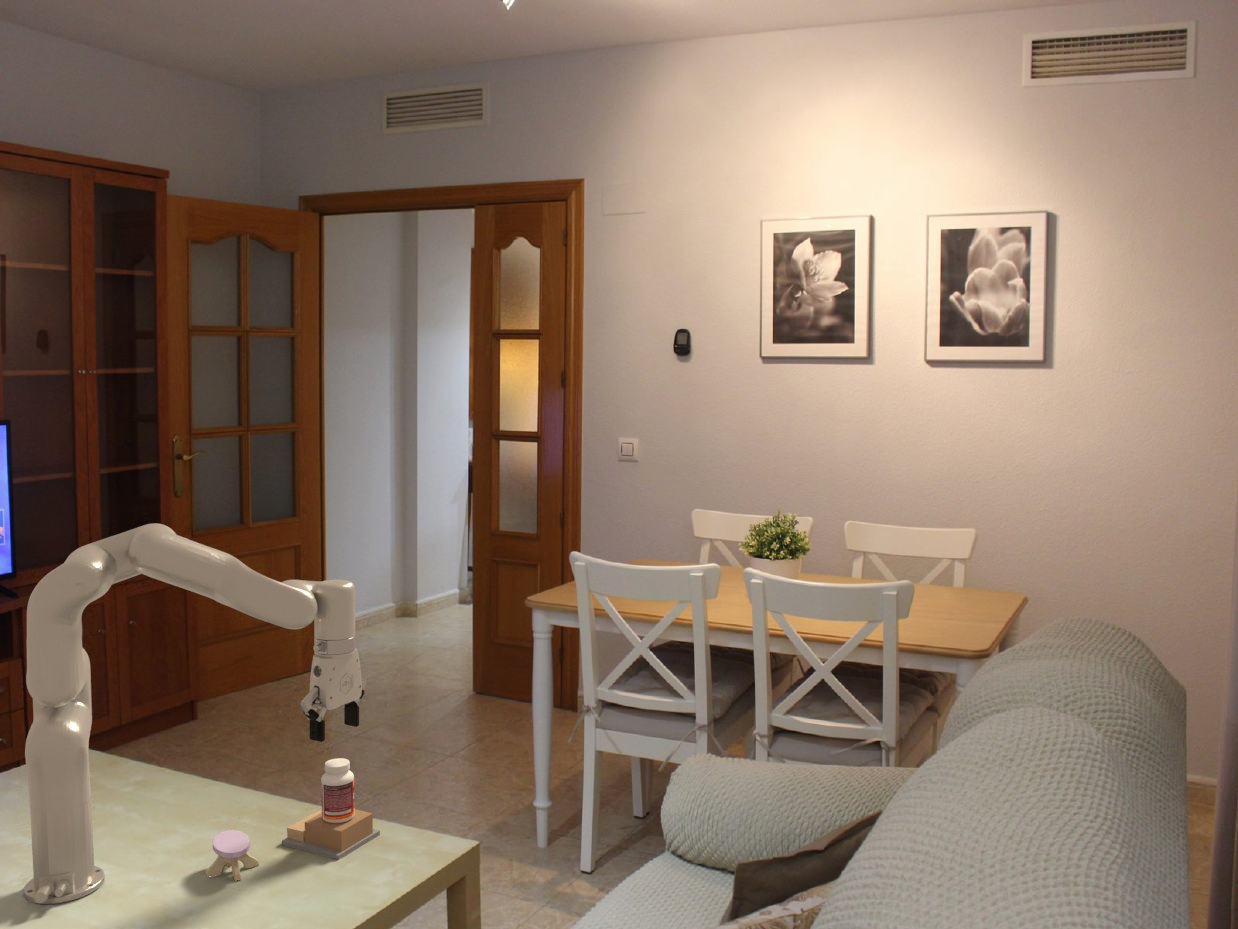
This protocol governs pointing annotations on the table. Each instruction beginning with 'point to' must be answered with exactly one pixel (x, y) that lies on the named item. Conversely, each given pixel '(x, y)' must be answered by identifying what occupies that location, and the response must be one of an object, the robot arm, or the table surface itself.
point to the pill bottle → (337, 791)
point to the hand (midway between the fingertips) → (334, 732)
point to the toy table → (231, 853)
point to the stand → (331, 834)
